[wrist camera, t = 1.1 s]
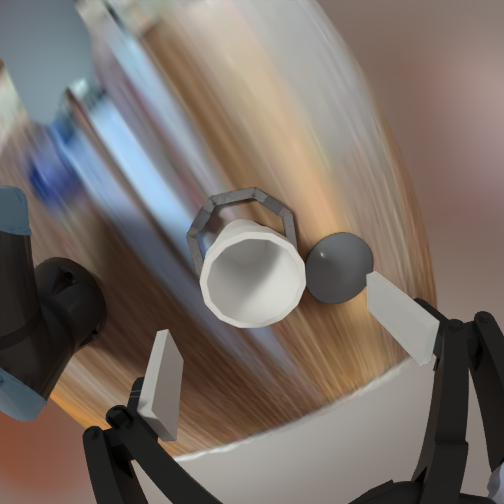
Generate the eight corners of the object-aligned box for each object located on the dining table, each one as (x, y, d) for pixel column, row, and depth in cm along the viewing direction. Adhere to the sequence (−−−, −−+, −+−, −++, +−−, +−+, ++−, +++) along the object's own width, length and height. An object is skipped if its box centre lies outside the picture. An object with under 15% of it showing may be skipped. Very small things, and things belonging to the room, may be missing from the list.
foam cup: (290, 250, 37) (322, 292, 25) (235, 287, 38) (242, 343, 26) (251, 192, 34) (268, 209, 22) (193, 234, 35) (178, 272, 23)
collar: (205, 298, 38) (204, 306, 36) (179, 203, 33) (176, 205, 31) (299, 277, 38) (304, 283, 36) (284, 180, 34) (289, 181, 32)
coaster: (307, 309, 40) (309, 311, 40) (299, 241, 37) (300, 242, 36) (370, 291, 41) (372, 293, 40) (368, 225, 37) (371, 227, 36)
